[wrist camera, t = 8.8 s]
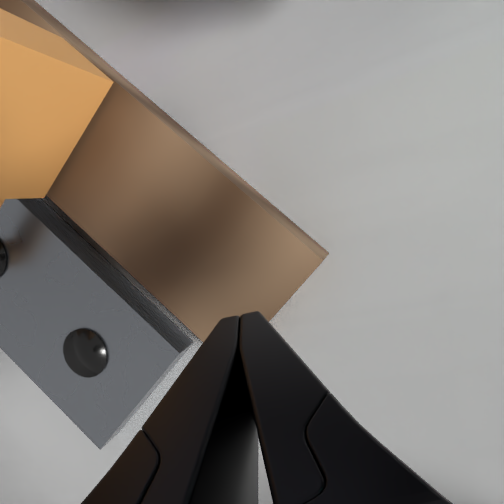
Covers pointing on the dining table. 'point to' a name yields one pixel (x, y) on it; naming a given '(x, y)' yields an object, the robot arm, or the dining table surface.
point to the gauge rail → (174, 207)
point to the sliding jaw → (41, 105)
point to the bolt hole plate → (78, 322)
